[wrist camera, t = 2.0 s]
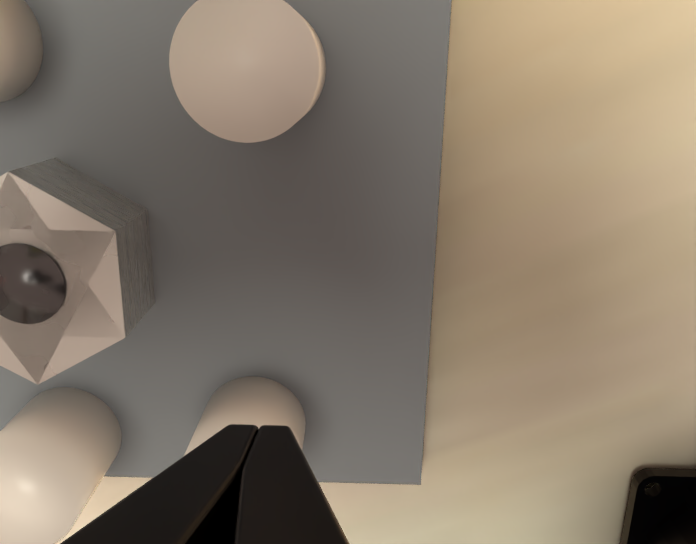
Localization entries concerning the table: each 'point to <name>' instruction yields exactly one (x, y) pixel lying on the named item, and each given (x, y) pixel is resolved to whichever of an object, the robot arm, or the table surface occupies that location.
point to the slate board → (257, 229)
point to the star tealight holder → (68, 268)
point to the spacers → (221, 120)
